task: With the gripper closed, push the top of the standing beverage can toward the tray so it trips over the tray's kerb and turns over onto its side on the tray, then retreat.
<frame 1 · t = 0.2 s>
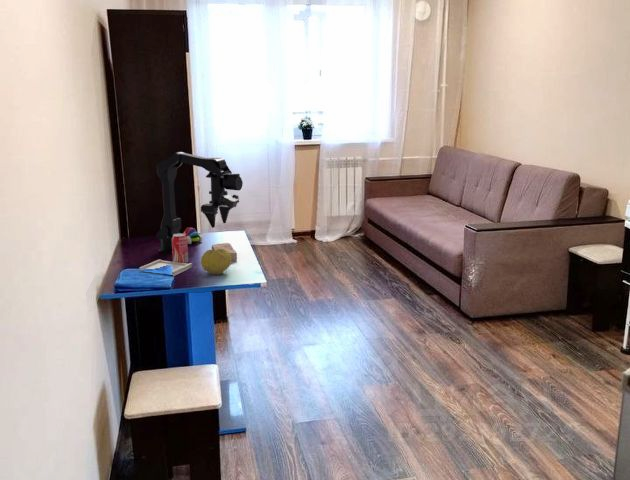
hand: (218, 225, 252), 14 cm above the table, fingers open, 9 cm apart
tray: (166, 269, 238), on the table
fruit: (216, 274, 231), on the table
brick: (224, 258, 255), on the table
multicoloured layered toy figurine: (191, 243, 280), on the table
beverage can: (180, 263, 247), on the table
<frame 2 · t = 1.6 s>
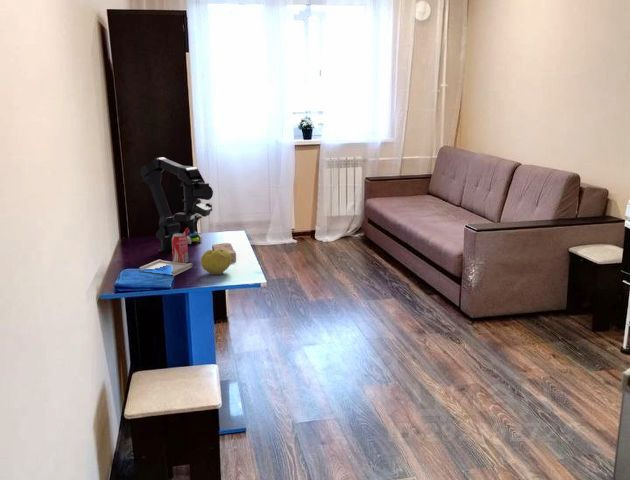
hand: (192, 233, 253), 10 cm above the table, fingers closed
nothing on the table moved.
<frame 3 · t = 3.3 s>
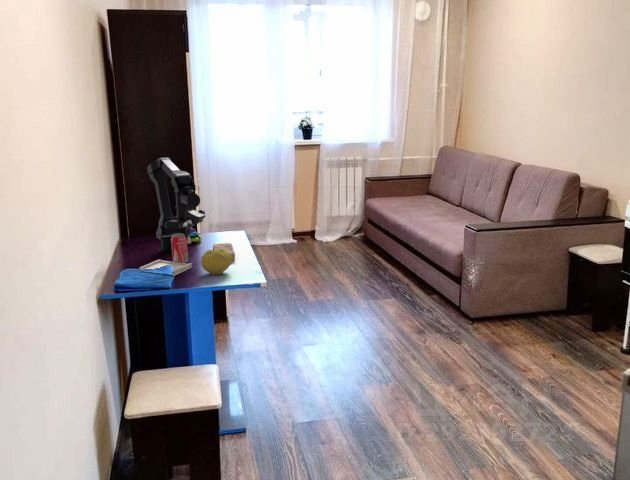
hand: (185, 241, 248), 8 cm above the table, fingers closed
beverage can: (180, 263, 247), on the table, touching gripper
everything else where it was.
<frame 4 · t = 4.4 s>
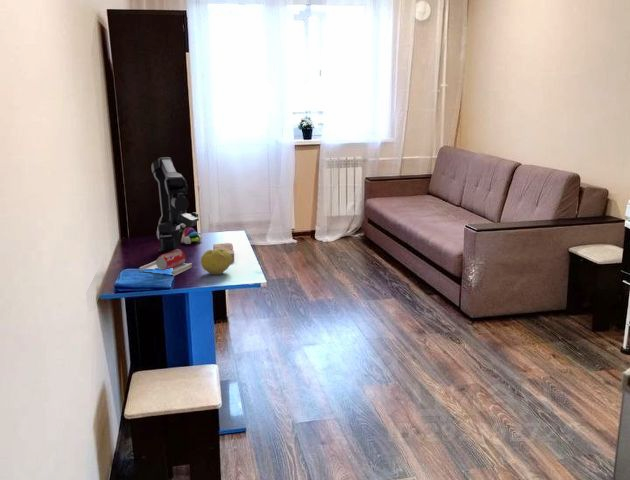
hand: (178, 244, 244), 8 cm above the table, fingers closed
beverage can: (180, 256, 243), point 4 cm above the table, touching tray
everything else where it was.
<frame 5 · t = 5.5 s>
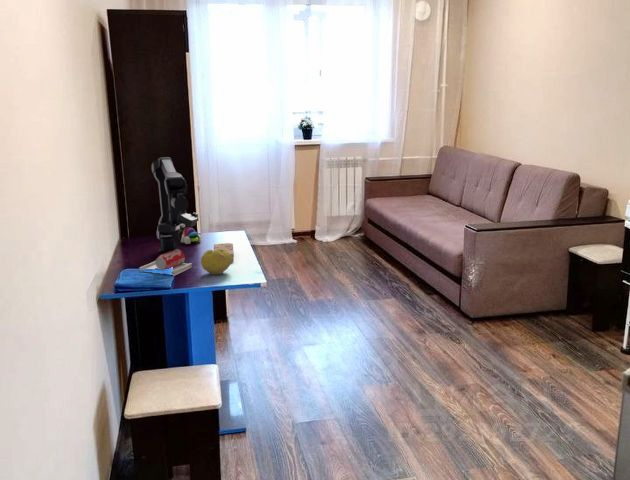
hand: (178, 244, 244), 8 cm above the table, fingers closed
nothing on the table moved.
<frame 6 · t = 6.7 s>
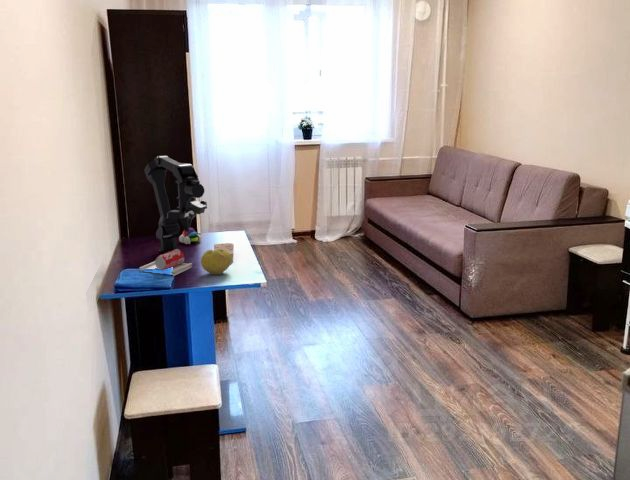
hand: (187, 231, 250), 12 cm above the table, fingers closed
nothing on the table moved.
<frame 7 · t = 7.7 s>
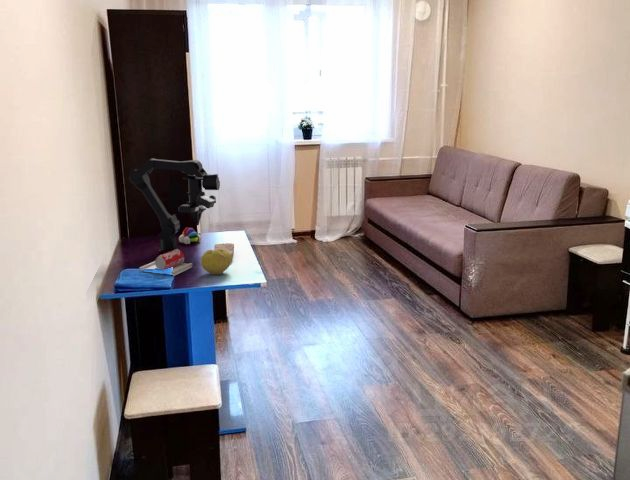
hand: (197, 225, 261), 12 cm above the table, fingers closed
nothing on the table moved.
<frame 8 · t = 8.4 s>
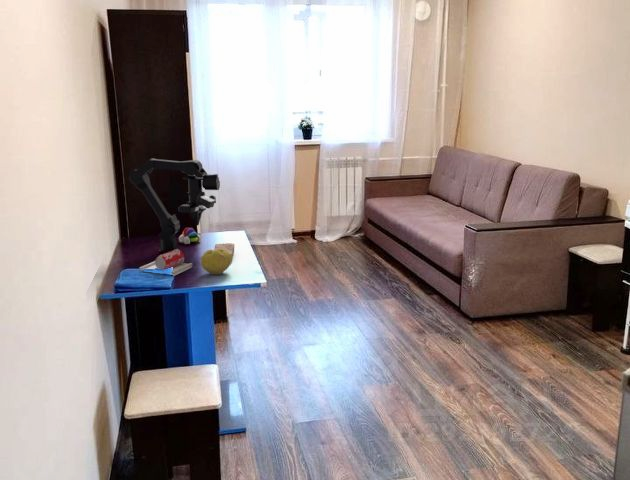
hand: (197, 225, 261), 12 cm above the table, fingers closed
at the end: beverage can tilted 89°; beverage can inside the target area (5.2 cm from its centre), point 3.6 cm above the table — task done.
